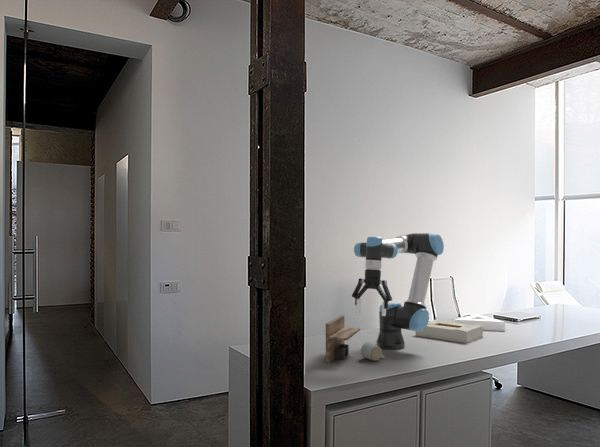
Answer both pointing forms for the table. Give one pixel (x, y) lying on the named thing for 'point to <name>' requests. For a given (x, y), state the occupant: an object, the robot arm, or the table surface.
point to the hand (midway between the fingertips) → (370, 314)
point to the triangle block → (483, 322)
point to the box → (451, 331)
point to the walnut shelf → (338, 338)
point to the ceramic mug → (371, 352)
